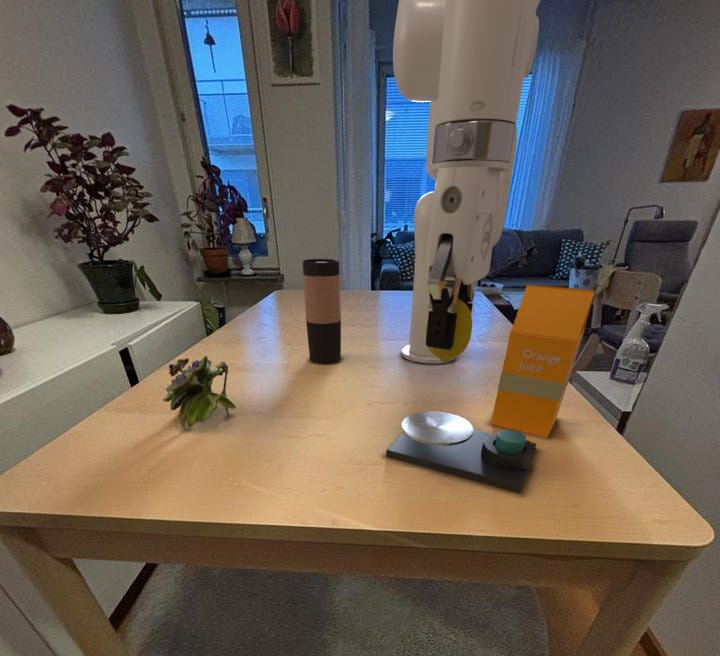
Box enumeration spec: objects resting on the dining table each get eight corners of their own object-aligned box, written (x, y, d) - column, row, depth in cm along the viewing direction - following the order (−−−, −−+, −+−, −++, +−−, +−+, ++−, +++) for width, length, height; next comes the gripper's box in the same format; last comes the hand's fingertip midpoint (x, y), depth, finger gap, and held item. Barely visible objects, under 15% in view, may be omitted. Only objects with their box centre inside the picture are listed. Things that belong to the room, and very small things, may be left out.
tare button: (498, 439, 54) (500, 427, 53) (525, 445, 53) (528, 433, 52) (492, 450, 51) (494, 438, 50) (520, 457, 50) (524, 445, 49)
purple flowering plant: (197, 438, 70) (194, 372, 71) (252, 433, 68) (249, 364, 68) (149, 429, 59) (146, 351, 60) (213, 422, 57) (209, 340, 57)
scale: (417, 423, 64) (419, 406, 62) (536, 451, 56) (542, 432, 55) (385, 457, 55) (386, 438, 53) (521, 494, 48) (527, 474, 46)
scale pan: (416, 408, 61) (417, 406, 61) (481, 422, 57) (481, 420, 57) (389, 435, 54) (390, 432, 54) (461, 453, 50) (461, 450, 50)
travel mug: (302, 361, 89) (294, 261, 78) (318, 352, 95) (313, 258, 84) (333, 366, 87) (329, 263, 76) (347, 356, 93) (345, 259, 81)
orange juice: (547, 438, 60) (592, 294, 48) (489, 424, 63) (518, 288, 52) (556, 419, 65) (598, 286, 54) (503, 407, 69) (532, 281, 58)
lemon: (466, 371, 48) (478, 300, 43) (420, 368, 49) (427, 298, 44) (466, 357, 52) (476, 291, 48) (424, 355, 53) (430, 290, 49)
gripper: (489, 137, 31) (456, 365, 41) (525, 159, 43) (493, 330, 54) (401, 143, 34) (390, 355, 44) (459, 162, 46) (440, 323, 57)
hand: (447, 339), depth 49 cm, fingers closed on lemon, 5 cm apart
